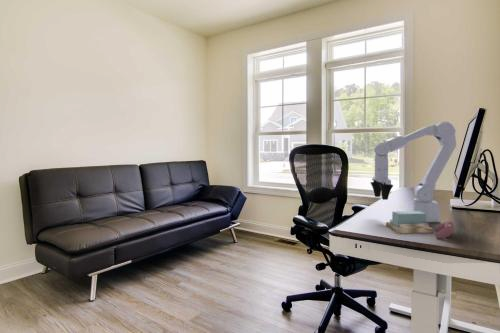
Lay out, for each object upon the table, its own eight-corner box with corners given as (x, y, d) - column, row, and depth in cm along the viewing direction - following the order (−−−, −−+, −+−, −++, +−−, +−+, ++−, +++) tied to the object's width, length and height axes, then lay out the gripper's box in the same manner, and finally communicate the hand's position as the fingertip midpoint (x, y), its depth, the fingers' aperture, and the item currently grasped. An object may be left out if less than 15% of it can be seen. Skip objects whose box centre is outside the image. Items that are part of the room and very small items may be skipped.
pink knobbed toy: (447, 244, 105) (459, 228, 103) (434, 237, 107) (445, 221, 105) (446, 237, 113) (456, 221, 111) (433, 230, 115) (443, 215, 113)
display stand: (416, 225, 125) (416, 218, 125) (433, 232, 114) (433, 224, 114) (386, 225, 125) (386, 218, 125) (399, 233, 114) (399, 225, 114)
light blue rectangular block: (418, 223, 122) (418, 211, 121) (425, 225, 117) (425, 213, 117) (392, 223, 121) (392, 211, 121) (398, 226, 117) (398, 214, 117)
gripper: (366, 168, 144) (366, 195, 145) (379, 170, 130) (379, 201, 130) (380, 167, 144) (380, 195, 145) (395, 170, 130) (395, 200, 131)
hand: (381, 198), depth 138 cm, fingers open, 7 cm apart
